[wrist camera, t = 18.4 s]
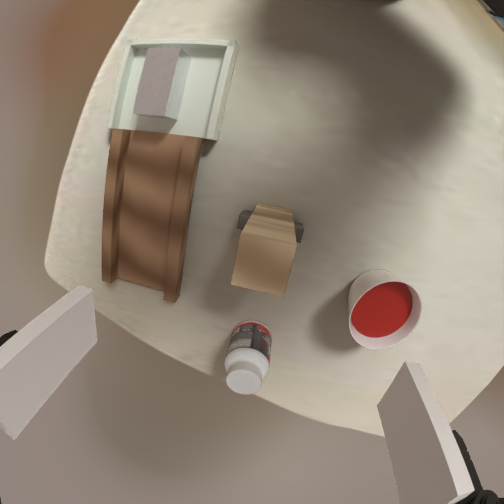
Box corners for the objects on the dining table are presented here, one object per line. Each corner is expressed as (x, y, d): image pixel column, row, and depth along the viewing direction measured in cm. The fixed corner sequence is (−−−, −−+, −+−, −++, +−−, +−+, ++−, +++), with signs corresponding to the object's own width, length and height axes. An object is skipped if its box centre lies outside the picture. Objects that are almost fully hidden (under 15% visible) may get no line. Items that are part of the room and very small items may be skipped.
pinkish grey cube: (154, 86, 30) (140, 79, 26) (184, 88, 29) (172, 80, 26) (148, 117, 31) (132, 113, 27) (177, 119, 31) (164, 116, 27)
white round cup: (407, 309, 36) (424, 334, 30) (347, 330, 38) (356, 358, 32) (398, 251, 33) (417, 269, 27) (332, 273, 35) (341, 296, 29)
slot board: (125, 129, 32) (112, 128, 29) (205, 138, 32) (198, 137, 29) (112, 272, 39) (102, 280, 36) (182, 292, 38) (174, 302, 35)
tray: (135, 44, 28) (127, 39, 26) (238, 47, 28) (235, 40, 26) (115, 128, 32) (106, 128, 30) (217, 140, 32) (213, 139, 29)
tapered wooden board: (245, 199, 34) (219, 228, 20) (304, 213, 33) (317, 251, 20) (239, 232, 35) (211, 279, 22) (296, 245, 35) (302, 300, 21)
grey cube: (162, 57, 28) (148, 47, 24) (192, 58, 28) (181, 47, 24) (154, 86, 30) (139, 79, 26) (184, 88, 29) (172, 80, 26)
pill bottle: (278, 343, 39) (275, 392, 30) (244, 354, 40) (234, 403, 31) (261, 313, 38) (253, 359, 29) (226, 326, 39) (210, 372, 30)
